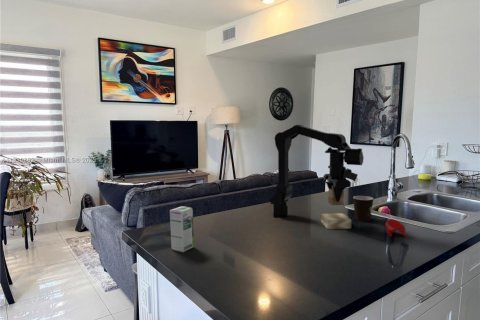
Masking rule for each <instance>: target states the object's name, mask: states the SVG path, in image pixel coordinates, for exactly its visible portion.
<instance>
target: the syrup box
mask: <svg viewBox="0 0 480 320" xmlns="http://www.w3.org/2000/svg"><path fill="white" fill-rule="evenodd" d="M169 220H170V223H169V224H170V243H171V250H174V251H176V252H179V253H181V252H182V253H185V252H186V251H188V250H190V249H192V248H194V247H195V239H194V237H195V235H194V212H193V208H192V207H190V206H184V205H183V206H179V207H175V208H172V209H169Z"/></svg>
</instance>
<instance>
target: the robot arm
mask: <svg viewBox="0 0 480 320" xmlns="http://www.w3.org/2000/svg"><path fill="white" fill-rule="evenodd" d="M298 136H303V137H306V138H310V139H313V140H316V141H320V142H322V143H323V144H325V145H326V146H328V148H327V149H326V150H325V151H324V153H325V154H329V165H328V166H327V168H328V169H329V173H325V174H324V175H323V181H324V182H325V184H326V187H327V189H328V190H329V189H333V192H334V196H335V199H336V201H337V202H339V201H340V198H341V195H342V192H343V191H344V190H346V188H351V187H352V182H351V181H353V182H356V180H357V177H358V173H355V172H352V169H350V168H348V167H346V166H344V165H345V164H346V165H348V166H363V164H364V159H365V158H364V154H363V153H364V152H363V148H359V147H358V148H351V146H350V145H349V144H348V142H347V140H346V137H345V135H343V134H341V133H334V132H324V131H321V130H317V129H313V128H311V127H307V126H304V125H302V124H295V125H293V126H292V127H290V128H288V129H286V130H284V131H280V132H277V133H276V134H275V136H274V143H275V147H276V150H277V152H278V154H277V158H278V161H277V163H278V164H277V165H278V166H277V168H278V169H277V171H278V172H277V173H278V175H277V183H276V186H275V190H274V195H273V196H272V197H271V198H270V199H269V202H270V204H271V205H272V212H271V214H272V217H273V218H286V217H287V218H288V214H289V212H288V211H289V210H288V204H287V202H289V199H291V197H292V195H293V194H294V192H293V191H294V190H293V187H294V186H293V184H292V185H291V184H290V182H289V151H290V149H291V146H292V141H293V139H295V138H297V137H298ZM350 180H351V181H350Z"/></svg>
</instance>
